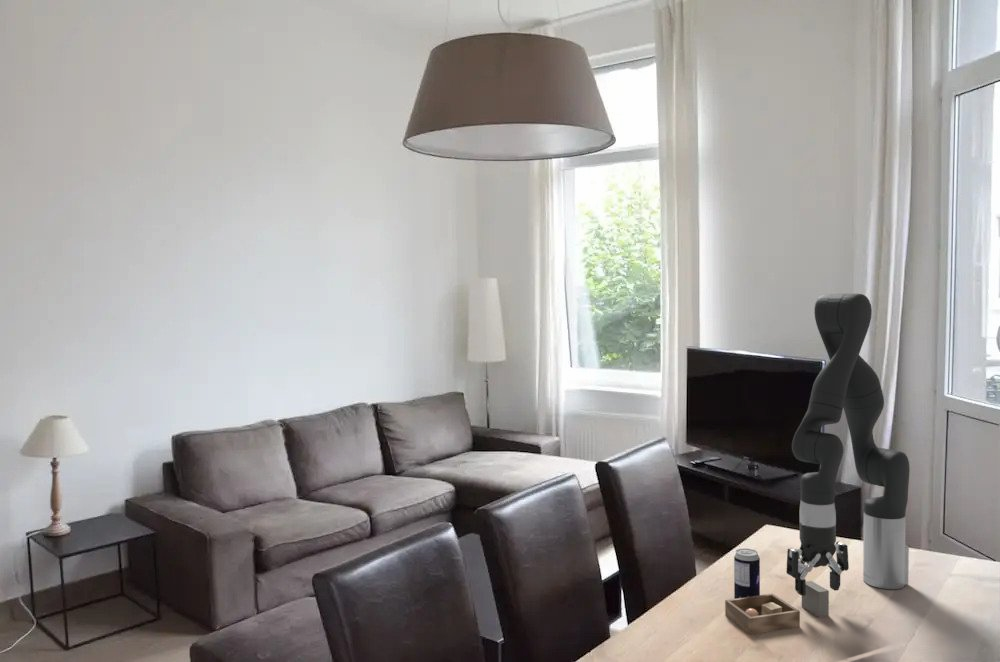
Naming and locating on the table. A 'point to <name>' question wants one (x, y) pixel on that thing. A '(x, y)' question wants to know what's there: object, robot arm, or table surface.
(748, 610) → the terracotta ball
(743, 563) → the beverage can
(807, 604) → the lid
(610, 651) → the table surface
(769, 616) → the box
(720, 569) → the table surface
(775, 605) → the maple cube
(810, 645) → the table surface
